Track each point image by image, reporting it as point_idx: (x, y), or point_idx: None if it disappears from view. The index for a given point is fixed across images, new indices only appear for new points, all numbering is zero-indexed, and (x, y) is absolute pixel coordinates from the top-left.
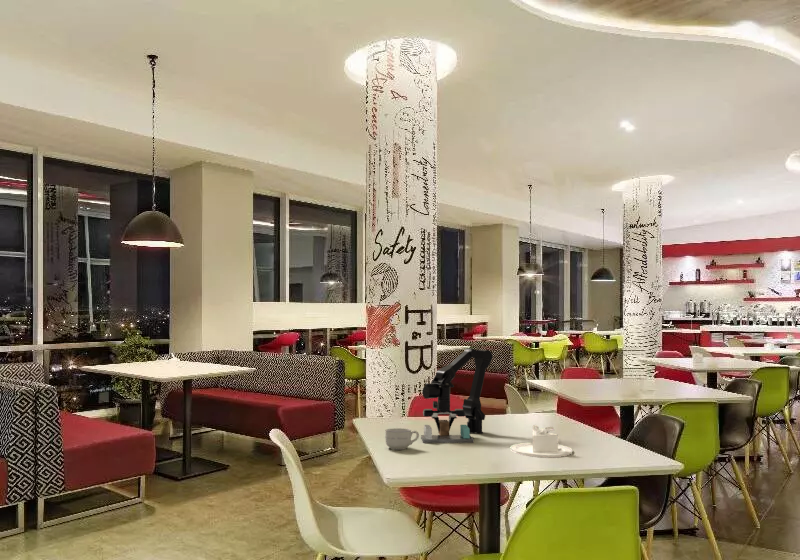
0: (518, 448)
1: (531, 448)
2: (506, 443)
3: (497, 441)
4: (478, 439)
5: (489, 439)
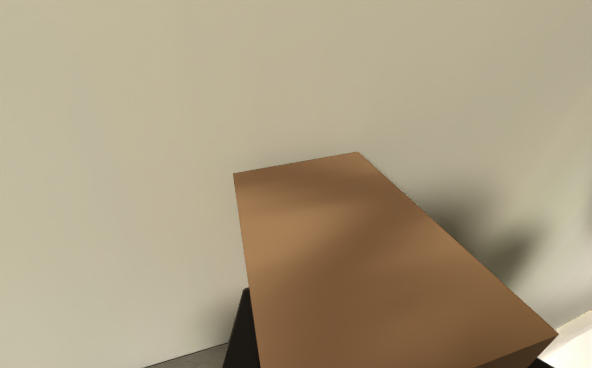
0: None
1: (555, 351)
2: (553, 311)
3: (552, 291)
4: (502, 279)
5: (555, 263)
